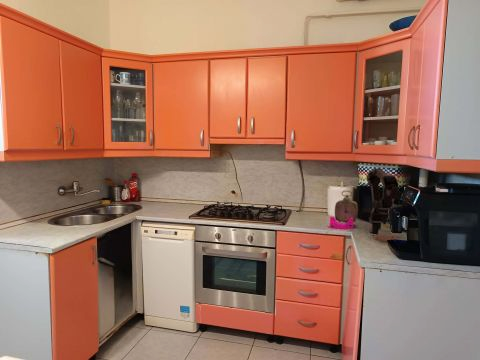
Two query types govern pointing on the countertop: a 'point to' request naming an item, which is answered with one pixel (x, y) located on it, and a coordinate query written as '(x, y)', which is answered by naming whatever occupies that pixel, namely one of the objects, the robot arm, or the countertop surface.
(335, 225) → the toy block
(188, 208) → the countertop surface
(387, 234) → the tower top
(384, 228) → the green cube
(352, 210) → the tabletop clock
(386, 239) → the tower base
